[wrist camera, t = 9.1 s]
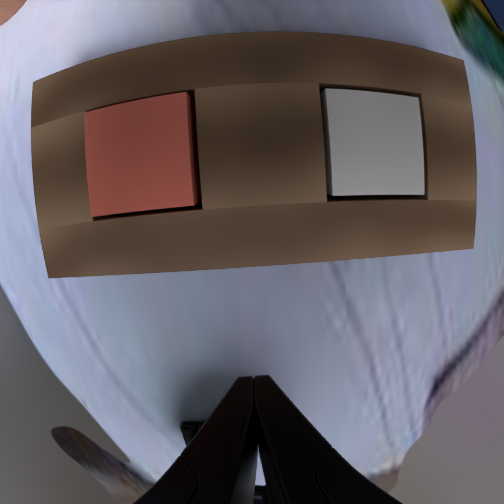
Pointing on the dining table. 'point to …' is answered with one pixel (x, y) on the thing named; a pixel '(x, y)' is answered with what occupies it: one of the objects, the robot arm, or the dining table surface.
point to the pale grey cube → (372, 143)
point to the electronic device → (496, 11)
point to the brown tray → (254, 156)
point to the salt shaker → (9, 9)
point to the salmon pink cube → (142, 155)
